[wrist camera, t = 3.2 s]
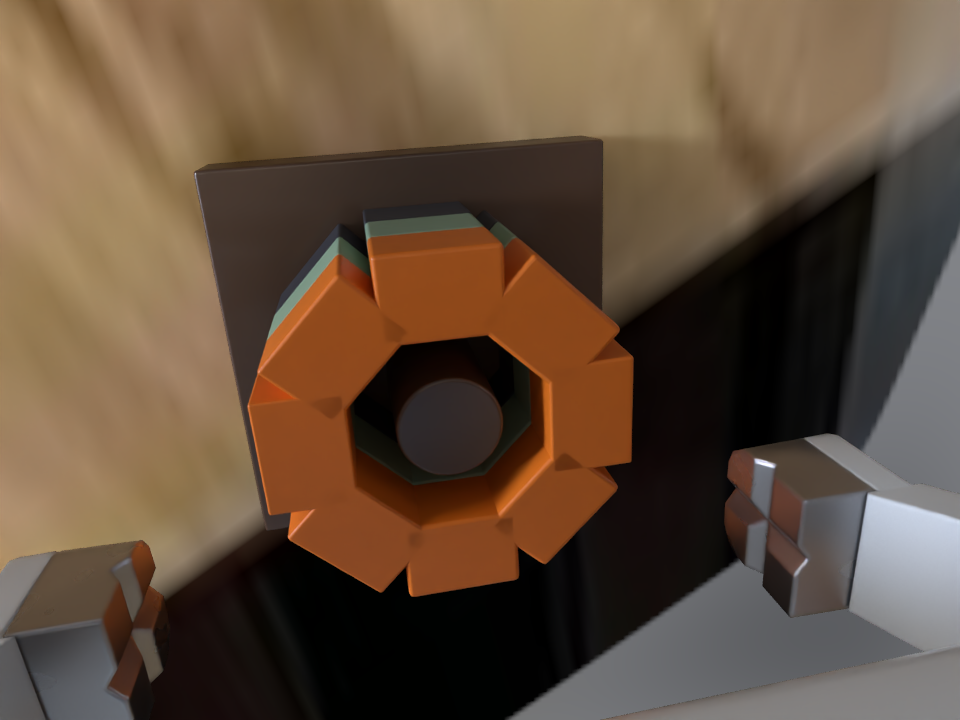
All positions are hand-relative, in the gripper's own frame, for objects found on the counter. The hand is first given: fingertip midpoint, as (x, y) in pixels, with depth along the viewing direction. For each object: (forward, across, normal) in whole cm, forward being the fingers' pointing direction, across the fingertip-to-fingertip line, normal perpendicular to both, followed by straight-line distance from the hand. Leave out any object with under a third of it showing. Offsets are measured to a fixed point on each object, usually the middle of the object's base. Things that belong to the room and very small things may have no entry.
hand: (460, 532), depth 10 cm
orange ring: (+4, 0, 0) cm, 5 cm away
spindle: (+9, 0, 0) cm, 9 cm away
